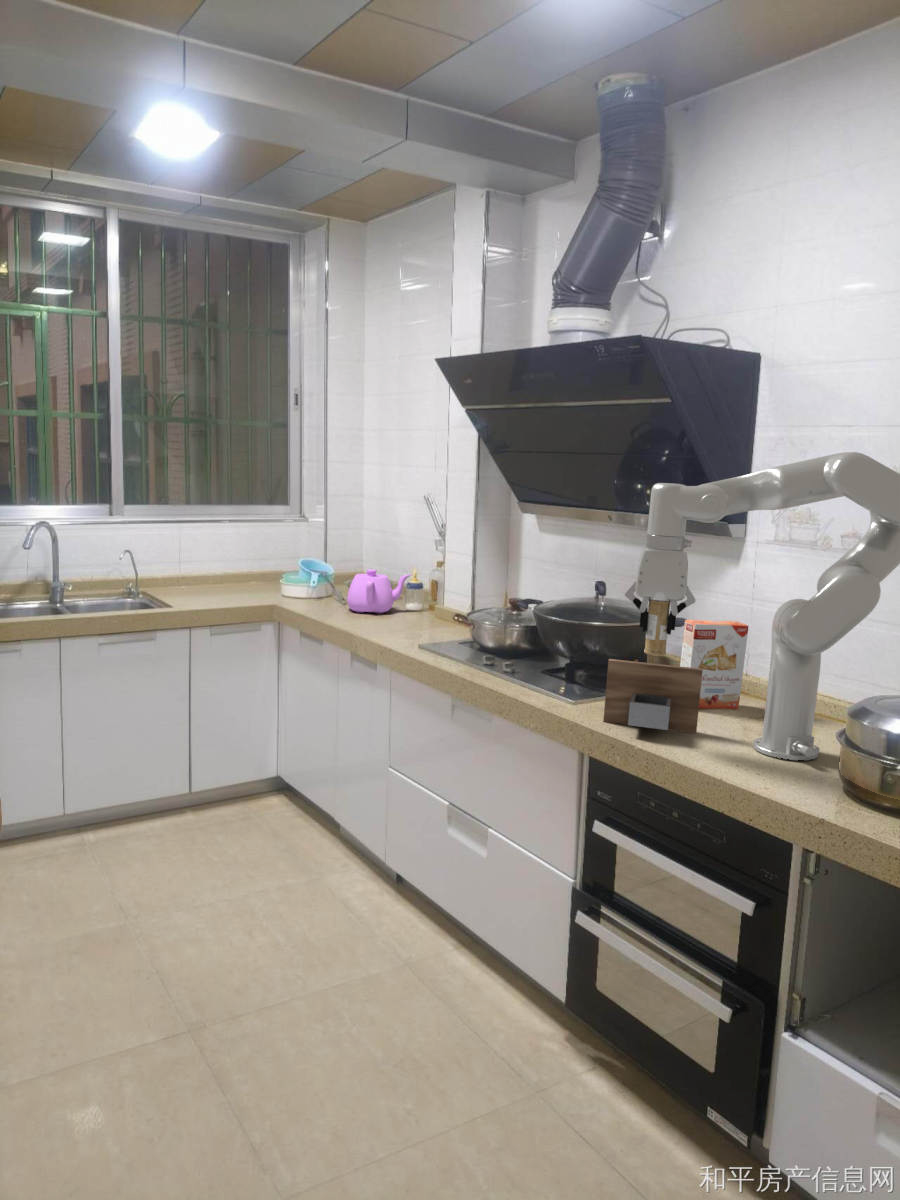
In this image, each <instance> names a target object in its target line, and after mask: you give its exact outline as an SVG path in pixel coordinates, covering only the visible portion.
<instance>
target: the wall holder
mask: <svg viewBox="0 0 900 1200" xmlns="http://www.w3.org/2000/svg"><path fill="white" fill-rule="evenodd" d="M702 671H703V669H699V668H689V667H680V665H672V664H671V665H670V664H669V665H668V664H660V663H651V662H642V661H641V662H640V661H632V660H624V659H623V660H622V659H615V658H614V659H613V658H609V659H608V661H607V672H606V683H605V684H606V685H605V697H604V709H603V711H604V712H603V723H610V724H611V723H612V724H617V723H618V724H620V725H626V726H632V727H641V728H647V729H654V730H655V729H656V730H664V731H671V732H673V731H675V732H681V733H689V734H697V729H698V728H697V727H698V720H699V719H698V718H699V710H700V709H699V701H700V691H701V681H702Z"/></svg>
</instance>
